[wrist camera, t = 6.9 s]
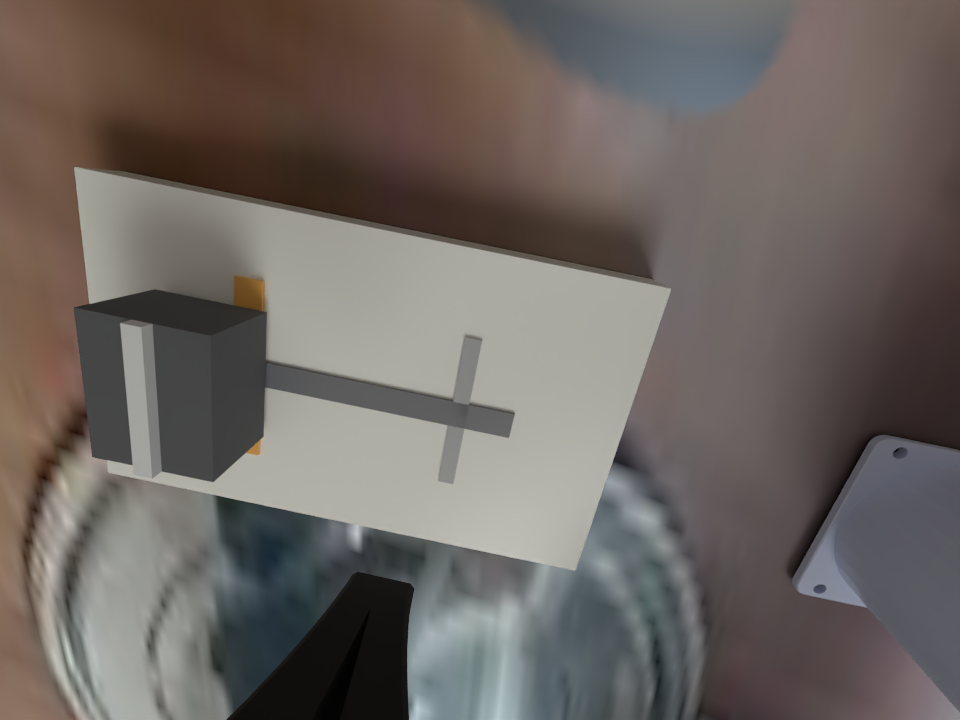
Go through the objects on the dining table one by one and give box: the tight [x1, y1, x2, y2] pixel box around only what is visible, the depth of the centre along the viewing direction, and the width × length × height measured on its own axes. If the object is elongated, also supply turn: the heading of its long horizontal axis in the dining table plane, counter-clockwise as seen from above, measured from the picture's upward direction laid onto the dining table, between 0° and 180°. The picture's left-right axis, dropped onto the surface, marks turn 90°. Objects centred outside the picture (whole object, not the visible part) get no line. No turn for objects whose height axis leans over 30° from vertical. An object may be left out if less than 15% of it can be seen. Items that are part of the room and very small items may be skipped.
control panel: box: [74, 167, 671, 571], centre depth 17 cm, size 20×12×2 cm, turn 79°
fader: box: [74, 289, 267, 482], centre depth 15 cm, size 4×5×3 cm
